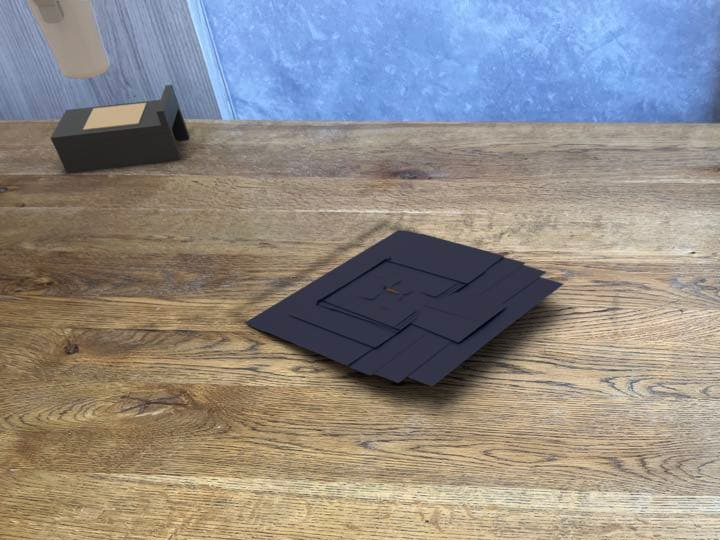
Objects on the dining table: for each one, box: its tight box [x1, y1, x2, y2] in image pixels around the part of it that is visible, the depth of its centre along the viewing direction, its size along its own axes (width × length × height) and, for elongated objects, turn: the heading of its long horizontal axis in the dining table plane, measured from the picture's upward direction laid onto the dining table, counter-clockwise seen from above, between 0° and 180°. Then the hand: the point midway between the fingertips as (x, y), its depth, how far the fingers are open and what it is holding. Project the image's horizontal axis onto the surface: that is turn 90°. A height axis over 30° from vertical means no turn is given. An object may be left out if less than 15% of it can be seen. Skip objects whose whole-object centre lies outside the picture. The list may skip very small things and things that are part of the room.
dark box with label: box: [50, 84, 191, 174], centre depth 121 cm, size 16×10×8 cm, turn 102°
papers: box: [244, 229, 564, 387], centre depth 90 cm, size 24×30×4 cm
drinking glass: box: [25, 0, 111, 80], centre depth 89 cm, size 7×7×15 cm
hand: (63, 10), depth 90 cm, fingers closed on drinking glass, 6 cm apart
